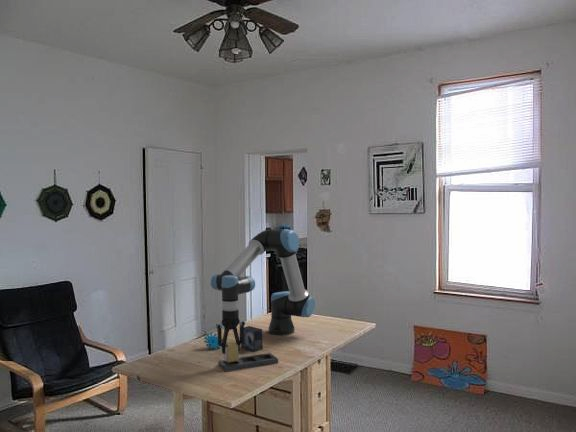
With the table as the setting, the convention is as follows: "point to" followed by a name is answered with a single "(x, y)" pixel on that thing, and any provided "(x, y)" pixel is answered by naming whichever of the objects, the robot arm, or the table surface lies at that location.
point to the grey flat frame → (248, 362)
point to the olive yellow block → (231, 351)
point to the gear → (211, 341)
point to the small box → (252, 339)
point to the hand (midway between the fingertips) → (231, 359)
